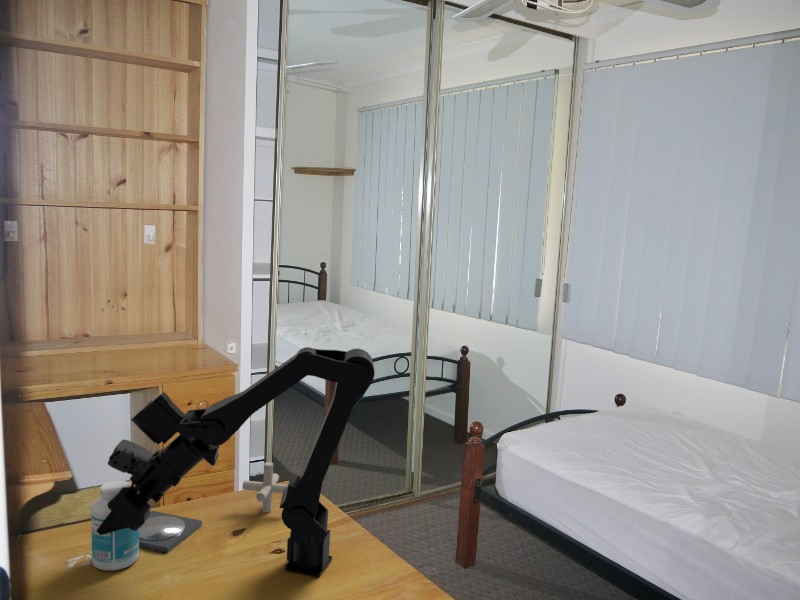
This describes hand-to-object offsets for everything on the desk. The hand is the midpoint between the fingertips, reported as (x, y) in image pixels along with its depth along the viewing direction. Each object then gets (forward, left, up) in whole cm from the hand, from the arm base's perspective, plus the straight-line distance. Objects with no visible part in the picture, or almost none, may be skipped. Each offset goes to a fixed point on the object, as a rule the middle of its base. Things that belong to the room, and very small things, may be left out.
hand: (107, 521), depth 113 cm
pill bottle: (-1, 0, -7) cm, 7 cm away
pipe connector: (-16, -27, -7) cm, 33 cm away
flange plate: (-2, -11, -7) cm, 14 cm away
